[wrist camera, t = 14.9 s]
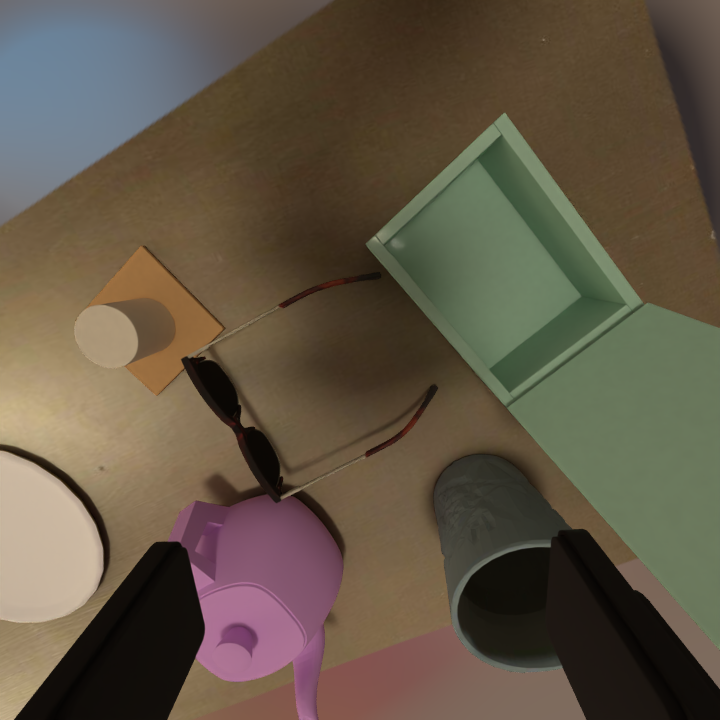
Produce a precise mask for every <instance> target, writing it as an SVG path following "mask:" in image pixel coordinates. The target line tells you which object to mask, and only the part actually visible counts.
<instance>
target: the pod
mask: <svg viewBox="0 0 720 720" xmlns="http://www.w3.org/2000/svg"><path fill="white" fill-rule="evenodd" d="M74 333H75V339H76V342H77V345H78V347H79V348H80V350H81V352H82V353H83V354H84V355H85V356H86V357H87V358H88V359H89V360H90V361H92V362H93V363H95V364H97V365H99V366H101V367H105V368H120V367H123V366H125V365H128V364H130V363H133V362H135V361H138V360H140V359H142V358H145V357H147V356H150V355H152V354H155V353H157V352H159V351H162V350H164V349H165V348H167V347H168V346H169V345H170V344H171V342H172V341H173V338H174V335H175V323H174V320H173V317H172V315H171V314H170V312H169V311H168V310H167V308H166V307H165V306H163V305H162V304H161V303H159V302H157V301H155V300H153V299H149V298H139V299H132V300H126V301H119V302H113V303H106V304H100V305H94V306H90V307H88V308H86V309H85V310H84V311H83V312H81V313H80V315H79V316H78V318H77V320H76V323H75V329H74Z"/></svg>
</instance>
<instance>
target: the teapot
mask: <svg viewBox="0 0 720 720" xmlns="http://www.w3.org/2000/svg"><path fill="white" fill-rule="evenodd" d="M170 541H178V542H180V543H181V545H182V547H185V548H186V549H187V551H188V555H189V559H190V563H191V568H192V572H193V576H194V580H195V585H196V589H197V593H198V597H199V602H200V606H201V610H202V614H203V619H204V623H205V634H204V639H203V642H202V644H201V646H200V649H199V651H198V653H197V655H196V657H195V658H196V659H197V660H198V661H199V662H200V663H201V664H202V665H203V666H204V667H205V668H207V669H208V670H209V671H210V672H212V673H213V674H214V675H216V676H217V677H219V678H221V679H223V680H226V681H232V682H242V681H249V680H254V679H257V678H261V677H264V676H266V675H269V674H271V673H274V672H276V671H277V670H279V669H281V668H283V667H284V666H286V665H287V664H289V663H290V662H291V661H293V665H294V676H295V695H296V705H297V711H298V717H299V720H318V715H317V706H316V695H317V685H318V678H319V674H320V669H321V664H322V659H323V653H324V645H325V631H324V624H323V622H324V621H325V619H326V617H327V616H328V614H329V612H330V610H331V608H332V606H333V604H334V602H335V599H336V597H337V594H338V591H339V588H340V584H341V580H342V574H343V559H342V556H341V552H340V550H339V548H338V546H337V544H336V542H335V541H334V539H333V537H332V536H331V534H330V533H329V531H328V530H327V529H326V527H325V526H324V524H323V523H322V522H321V521H320V520H319V519H318V517H317V516H316V515H315V514H314V513H313V512H312V511H311V510H310V509H309V508H308V507H307V506H306V505H304V504H303V503H302V502H301V501H300V500H298V499H296V498H295V497H292V496H288V497H286V498H284V499H282V500H281V501H280V502H278V503H275V502H274V501H273V500H272V499H271V497H270V496H269V495H268V494H267V495H262V496H258V497H254V498H251V499H248V500H244V501H242V502H239V503H237V504H234V505H232V506H231V507H225V506H221V505H216V504H211V503H206V502H201V501H195V502H193V503H192V504H190V505H189V506H188V507H186V508H185V509H183V510H182V511H181V512H180V513H179V515H178V518H177V520H176V522H175V525H174V527H173V530H172V532H171V535H170V537H169V540H168V542H170Z"/></svg>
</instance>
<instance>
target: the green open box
mask: <svg viewBox="0 0 720 720" xmlns="http://www.w3.org/2000/svg"><path fill="white" fill-rule="evenodd" d="M366 246H367V247H368V249H369V250H370V251H371V252H372V253H373V255H374V256H375V257H376V258H377V259H378V260H379V261H380V263H381V264H382V265H383V266H384V267H385V268H386V270H387V271H388V272H389V273H390V274H391V275H392V277H393V278H394V279H395V280H396V281H397V282H398V284H399V285H400V286H401V287H402V288H403V289H404V290H405V292H406V293H407V294H408V295H409V296H410V297H411V299H412V300H413V301H414V302H415V303H416V304H417V306H418V307H419V308H420V309H421V310H422V311H423V313H424V314H425V315H426V316H427V317H428V318H429V319H430V321H431V322H432V323H433V324H434V325H435V326H436V328H437V329H438V330H439V331H440V332H441V333H442V335H443V336H444V337H445V338H446V339H447V340H448V342H449V343H450V344H451V345H452V346H453V347H454V348H455V350H456V351H457V352H458V353H459V354H460V355H461V357H462V358H463V359H464V360H465V361H466V362H467V364H468V365H469V366H470V367H471V368H472V369H473V371H474V372H475V373H476V374H477V375H478V376H479V377H480V379H481V380H482V381H483V382H484V383H485V384H486V385H487V387H488V388H489V389H490V390H491V391H492V392H493V393H494V394H495V396H496V397H497V398H498V399H499V400H500V401H501V402H502V403H503V405H504V406H505V407H506V408H507V407H509V406H510V405H511V404H513V403H514V402H515V401H517V400H518V399H519V398H521V397H522V396H523V395H525V394H526V393H527V392H529V391H530V390H531V389H533V388H534V387H535V386H537V385H538V384H539V383H541V382H542V381H543V380H545V379H546V378H547V377H549V376H550V375H552V374H553V373H554V372H556V371H557V370H558V369H560V368H561V367H562V366H564V365H565V364H566V363H568V362H569V361H570V360H572V359H573V358H574V357H576V356H577V355H578V354H580V353H581V352H582V351H584V350H585V349H586V348H588V347H589V346H590V345H592V344H593V343H594V342H596V341H597V340H598V339H600V338H601V337H602V336H604V335H605V334H607V333H608V332H609V331H611V330H612V329H613V328H615V327H616V326H617V325H619V324H620V323H621V322H623V321H624V320H625V319H627V318H628V317H629V316H631V315H632V314H633V313H635V312H636V311H637V310H639V309H640V308H641V307H643V306H644V303H643V302H642V301H641V299H640V298H639V297H638V295H637V294H636V292H635V291H634V290H633V288H632V287H631V286H630V284H629V283H628V281H627V280H626V279H625V277H624V276H623V274H622V273H621V272H620V270H619V269H618V268H617V266H616V265H615V263H614V262H613V261H612V259H611V258H610V257H609V255H608V254H607V252H606V251H605V250H604V248H603V247H602V246H601V244H600V243H599V241H598V240H597V239H596V237H595V236H594V235H593V233H592V232H591V230H590V229H589V228H588V226H587V225H586V224H585V222H584V221H583V219H582V218H581V217H580V215H579V214H578V213H577V211H576V210H575V208H574V207H573V206H572V204H571V203H570V202H569V200H568V199H567V197H566V196H565V195H564V193H563V192H562V191H561V189H560V188H559V186H558V185H557V184H556V182H555V181H554V180H553V178H552V177H551V175H550V174H549V173H548V171H547V170H546V169H545V167H544V166H543V164H542V163H541V162H540V160H539V159H538V157H537V156H536V155H535V153H534V152H533V151H532V149H531V148H530V146H529V145H528V144H527V142H526V141H525V140H524V138H523V137H522V135H521V134H520V133H519V131H518V130H517V129H516V127H515V126H514V124H513V123H512V122H511V120H510V119H509V118H508V116H507V115H506V113H503V114H502V115H501V116H500V117H499V118H498V119H497V120H496V121H495V122H494V123H493V124H491V125H490V126H489V127H488V128H487V129H486V130H485V131H484V132H483V133H482V134H481V135H480V136H479V137H478V138H477V139H476V140H475V141H474V142H472V143H471V144H470V145H469V146H468V147H467V148H466V149H465V150H464V151H463V152H462V153H461V154H460V155H459V156H458V157H457V158H456V159H455V160H453V161H452V162H451V163H450V164H449V165H448V166H447V167H446V168H445V169H444V170H443V171H442V172H441V173H440V174H439V175H438V176H437V177H436V178H434V179H433V180H432V181H431V182H430V183H429V184H428V185H427V186H426V187H425V188H424V189H423V190H422V191H421V192H420V193H419V194H418V195H417V196H415V197H414V198H413V199H412V200H411V201H410V202H409V203H408V204H407V205H406V206H405V207H404V208H403V209H402V210H401V211H400V212H399V213H398V214H396V215H395V216H394V217H393V218H392V219H391V220H390V221H389V222H388V223H387V224H386V225H385V226H384V227H383V228H382V229H381V230H380V231H379V232H377V233H376V234H375V236H373V237H372V238H371V239H370V240H369V241H368V242H367V243H366Z"/></svg>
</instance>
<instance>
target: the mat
mask: <svg viewBox="0 0 720 720" xmlns="http://www.w3.org/2000/svg"><path fill="white" fill-rule="evenodd" d="M139 298H149V299H153V300H155V301H157V302H159V303H161V304H162V305H163V306H165V307H166V308H167V310H168V311H169V312H170V314H171V315H172V317H173V320H174V323H175V335H174V338H173V341H172V342H171V344H170V345H169V346H168V347H167V348H165V349H164V350H162V351H159V352H157V353H155V354H152V355H150V356H147V357H145V358H142V359H140V360H138V361H135V362H133V363H130V364H128V365H125V367H126V368H127V369H128V370H129V371H130V372H131V373H132V374H133V375H134V376H135V377H137V378H138V379H139V380H140V381H141V382H142V383H143V384H144V385H145V386H146V387H147V388H148V389H149V390H150V391H152V392H153V393H154V394H155V395H156V396H157V395H158V394H159V393H160V392H161V391H163V390H164V389H165V388H166V387H167V386H168V385H169V384H170V383H171V382H172V381H173V380H174V379H175V378H176V377H177V376H178V375H179V374H180V373H181V372H182V371H183V370H184V369H185V367H184V366H183V364H182V361H181V359H182V358H183V357H185V356H187V355H189V354H191V353H193V352H195V351H196V350H198V349H200V348H202V347H204V346H206V345H207V344H209V343H211V342H212V341H213V340H214V339H215V338H216V337H217V336H218V335H219V334H220V333H221V332H222V331H223V330H224V329H225V327H224V326H223V325H222V324H221V323H220V322H219V321H218V320H217V319H216V318H215V317H214V316H213V315H212V314H211V313H210V312H209V311H208V310H207V309H206V308H205V307H204V306H203V305H202V304H201V303H200V302H199V301H198V300H197V299H196V298H195V297H194V296H193V295H192V294H191V293H190V292H189V291H188V290H187V289H186V288H185V287H184V286H183V285H182V284H181V283H180V282H179V281H178V280H177V279H176V278H175V277H174V276H173V275H172V274H171V273H170V272H169V271H168V270H167V269H166V268H165V267H164V266H163V265H162V264H161V263H160V262H159V261H158V260H157V259H156V258H155V257H154V256H153V255H152V254H151V253H150V252H149V251H148V250H147V249H146V248H145V247H144V246H140V247H139V248H138V250H137V251H136V252H135V253H134V254H133V255H132V256H131V258H130V259H129V260H128V261H127V262H126V263H125V264H124V265H123V267H122V268H121V269H120V270H119V271H118V272H117V273H116V275H115V276H114V277H113V278H112V279H111V280H110V281H109V283H108V284H107V285H106V286H105V287H104V288H103V289H102V290H101V292H100V293H99V294H98V295H97V296H96V297H95V298H94V300H93V301H92V302H91V303H90V304H89V305H88V306H87V308H88V307H90V306H94V305H100V304H106V303H113V302H119V301H126V300H132V299H139ZM76 320H77V319H76ZM76 320H75V321H76ZM199 354H200V353H199ZM199 354H197V355H195V356H193V357H194V358H196V357H197V356H198V355H199Z"/></svg>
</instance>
